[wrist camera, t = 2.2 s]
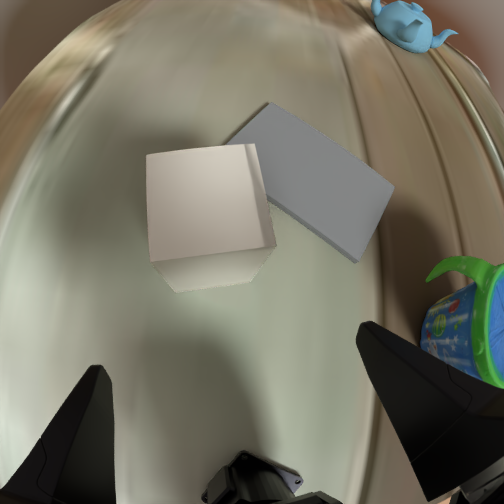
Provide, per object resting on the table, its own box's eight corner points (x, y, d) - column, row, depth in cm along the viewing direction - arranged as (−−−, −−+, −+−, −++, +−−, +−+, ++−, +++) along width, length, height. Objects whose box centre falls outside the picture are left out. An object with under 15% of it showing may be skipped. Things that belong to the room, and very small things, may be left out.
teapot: (399, 25, 45) (416, -4, 35) (440, 65, 42) (462, 35, 32) (354, 16, 42) (370, -20, 32) (399, 57, 38) (423, 19, 29)
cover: (249, 282, 23) (276, 245, 14) (175, 292, 22) (150, 262, 13) (237, 213, 25) (254, 143, 15) (168, 222, 24) (146, 154, 14)
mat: (391, 190, 28) (395, 187, 27) (354, 263, 25) (358, 261, 24) (270, 106, 29) (271, 101, 28) (212, 162, 26) (212, 157, 25)
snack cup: (376, 303, 24) (454, 281, 15) (435, 248, 27) (502, 214, 17) (436, 418, 22) (507, 433, 12) (485, 355, 25) (549, 349, 15)
